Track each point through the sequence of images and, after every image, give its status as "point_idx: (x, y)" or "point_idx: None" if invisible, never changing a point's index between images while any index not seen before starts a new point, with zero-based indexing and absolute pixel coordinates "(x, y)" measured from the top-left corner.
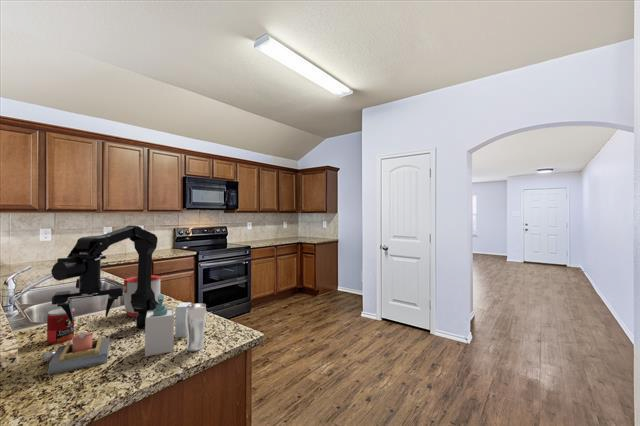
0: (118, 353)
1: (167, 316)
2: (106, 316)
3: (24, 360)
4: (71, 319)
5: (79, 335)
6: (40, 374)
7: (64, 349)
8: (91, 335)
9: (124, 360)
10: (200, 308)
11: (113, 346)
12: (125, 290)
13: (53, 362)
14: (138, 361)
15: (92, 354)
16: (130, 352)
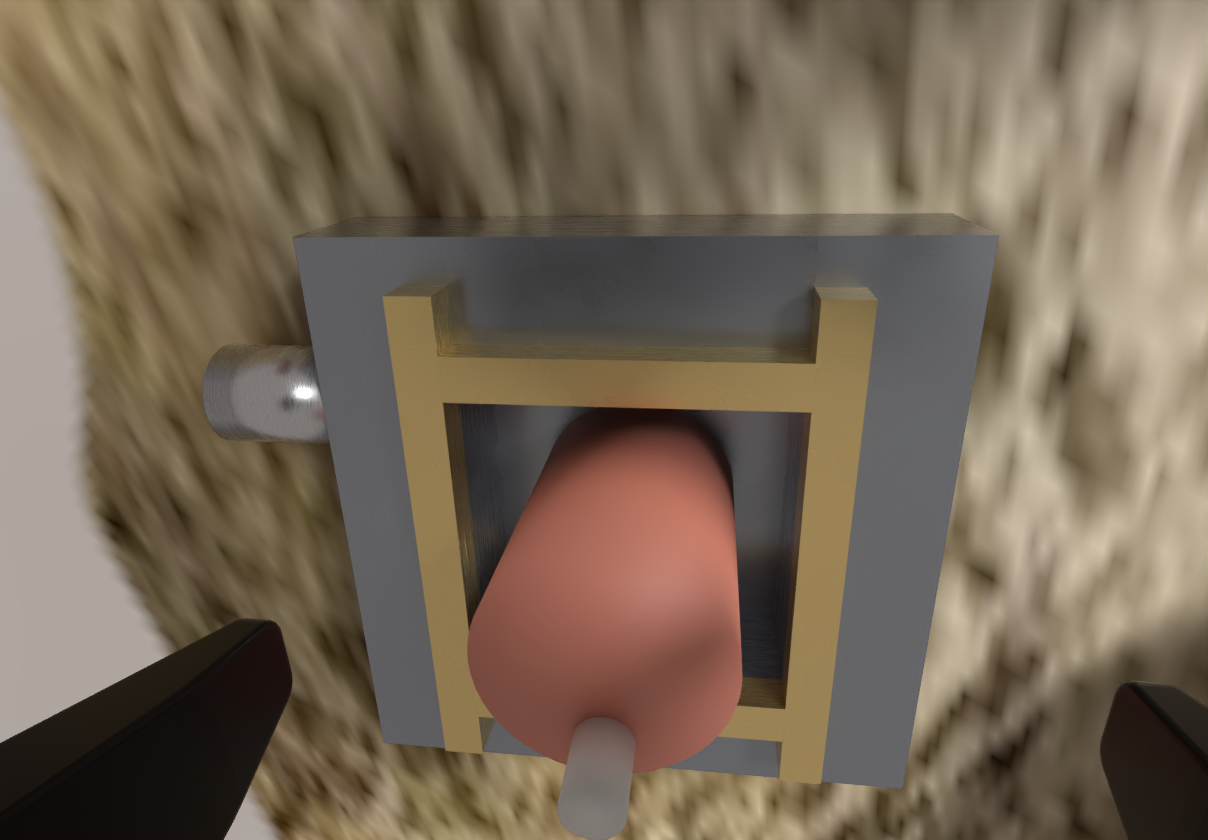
0: (1017, 543)
1: None
2: (1136, 780)
3: (33, 171)
4: (226, 784)
5: (543, 607)
6: (355, 628)
7: (423, 542)
8: (731, 713)
9: (1040, 747)
10: None
11: (997, 258)
12: None
13: (411, 722)
14: None
15: (751, 741)
16: (1150, 589)
